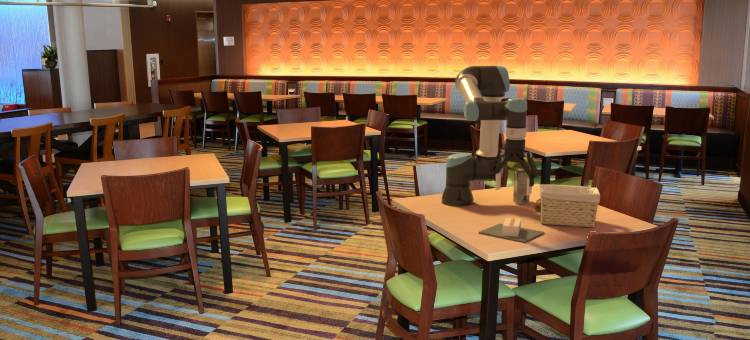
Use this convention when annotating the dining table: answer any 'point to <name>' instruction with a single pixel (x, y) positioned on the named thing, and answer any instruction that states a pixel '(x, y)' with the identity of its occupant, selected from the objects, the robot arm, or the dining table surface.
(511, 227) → the cream striped block
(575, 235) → the dining table surface
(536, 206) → the bread roll
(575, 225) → the storage basket
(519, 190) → the coffee box
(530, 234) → the mat
